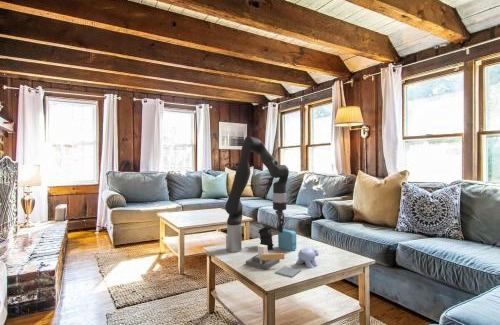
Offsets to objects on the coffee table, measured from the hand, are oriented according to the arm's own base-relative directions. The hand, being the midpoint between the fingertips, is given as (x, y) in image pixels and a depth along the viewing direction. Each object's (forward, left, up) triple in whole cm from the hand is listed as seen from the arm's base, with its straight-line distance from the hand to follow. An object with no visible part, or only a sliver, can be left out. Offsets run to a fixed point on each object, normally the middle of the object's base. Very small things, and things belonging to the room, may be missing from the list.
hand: (279, 231), depth 162 cm
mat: (+8, -6, -19) cm, 22 cm away
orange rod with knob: (-3, -5, -15) cm, 16 cm away
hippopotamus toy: (+12, +12, -20) cm, 26 cm away
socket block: (-10, -3, -19) cm, 22 cm away
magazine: (-24, +22, -20) cm, 38 cm away
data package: (-11, +28, -20) cm, 36 cm away
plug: (-10, -3, -17) cm, 20 cm away
